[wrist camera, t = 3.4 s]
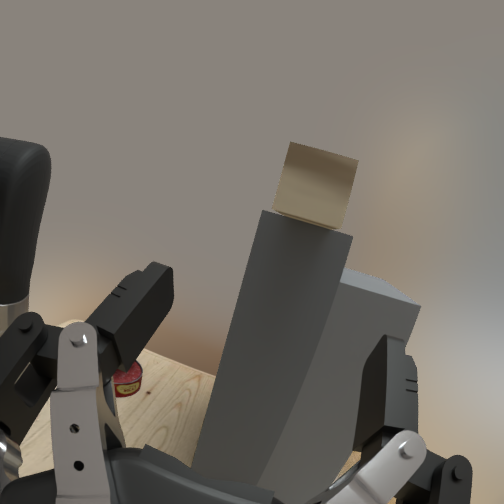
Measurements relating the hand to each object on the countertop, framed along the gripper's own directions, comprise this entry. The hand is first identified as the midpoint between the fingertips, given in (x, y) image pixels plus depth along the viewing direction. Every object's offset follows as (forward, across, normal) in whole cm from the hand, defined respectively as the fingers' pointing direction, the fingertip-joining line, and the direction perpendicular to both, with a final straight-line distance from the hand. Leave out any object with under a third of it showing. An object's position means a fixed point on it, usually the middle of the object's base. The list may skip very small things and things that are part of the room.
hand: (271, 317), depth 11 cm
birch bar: (+18, 0, +6) cm, 19 cm away
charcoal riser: (+6, -4, +36) cm, 37 cm away
